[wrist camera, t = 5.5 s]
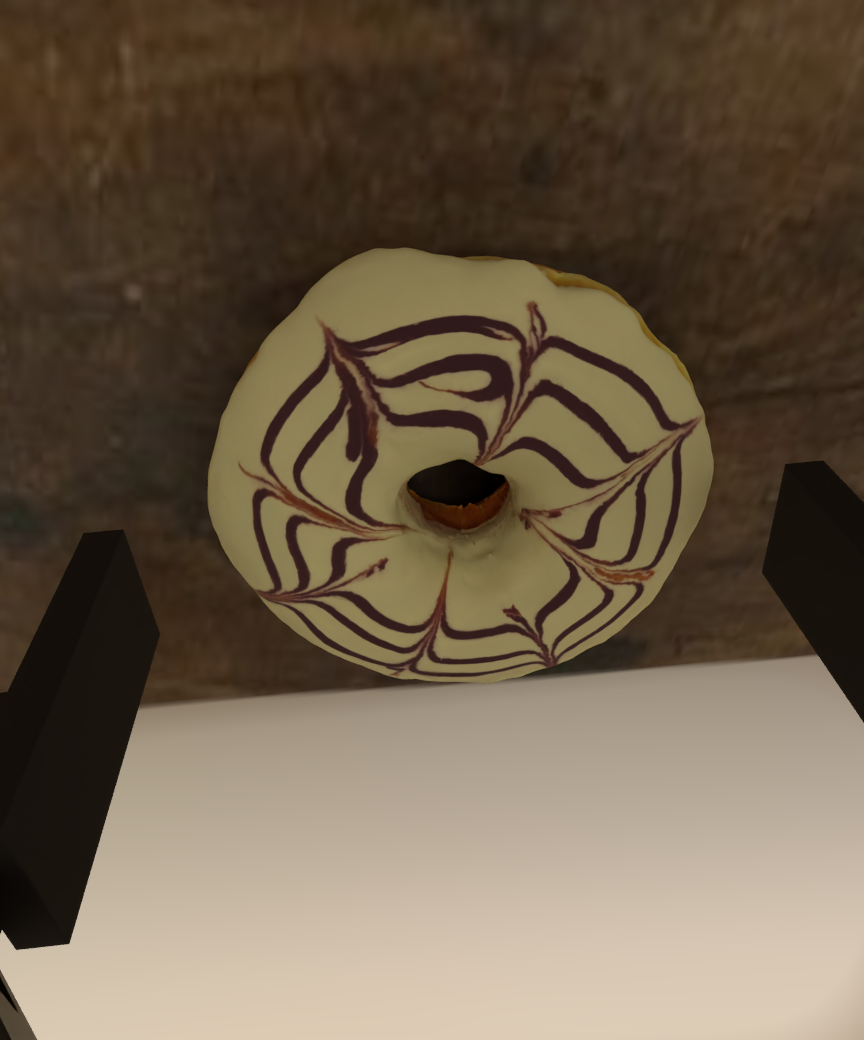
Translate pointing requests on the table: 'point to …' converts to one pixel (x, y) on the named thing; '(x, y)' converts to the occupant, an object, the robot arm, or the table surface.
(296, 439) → the decorated donut
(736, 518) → the table surface
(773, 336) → the table surface
